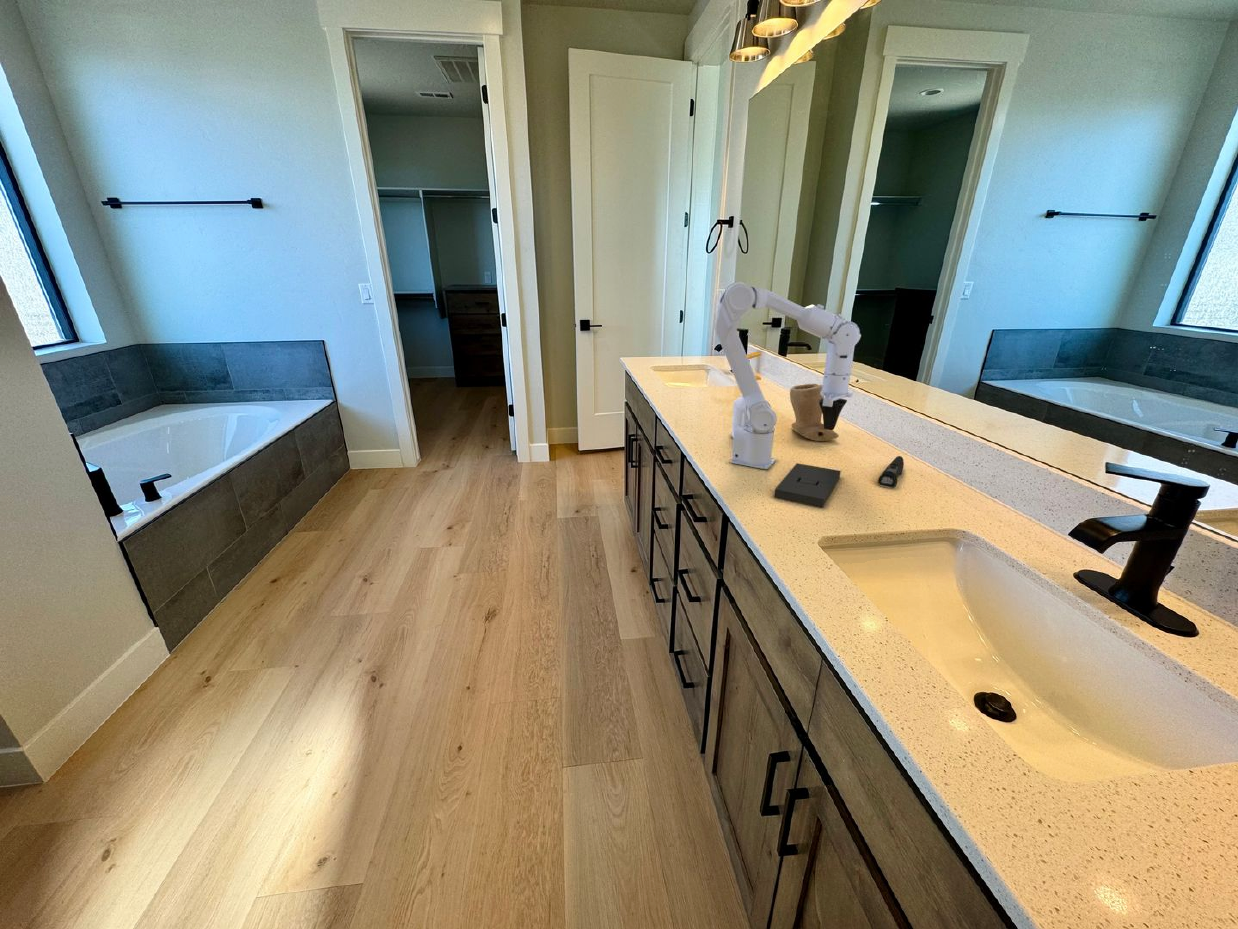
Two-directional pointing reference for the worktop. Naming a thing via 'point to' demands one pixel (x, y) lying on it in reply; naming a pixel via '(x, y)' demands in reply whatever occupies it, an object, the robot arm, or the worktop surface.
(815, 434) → the brown boot
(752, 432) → the robot arm
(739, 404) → the soap bottle
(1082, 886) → the worktop surface
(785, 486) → the notch pad
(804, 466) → the pad
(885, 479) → the electric trimmer
